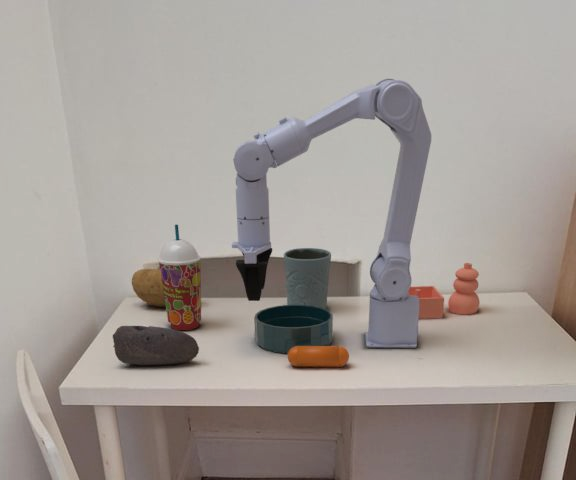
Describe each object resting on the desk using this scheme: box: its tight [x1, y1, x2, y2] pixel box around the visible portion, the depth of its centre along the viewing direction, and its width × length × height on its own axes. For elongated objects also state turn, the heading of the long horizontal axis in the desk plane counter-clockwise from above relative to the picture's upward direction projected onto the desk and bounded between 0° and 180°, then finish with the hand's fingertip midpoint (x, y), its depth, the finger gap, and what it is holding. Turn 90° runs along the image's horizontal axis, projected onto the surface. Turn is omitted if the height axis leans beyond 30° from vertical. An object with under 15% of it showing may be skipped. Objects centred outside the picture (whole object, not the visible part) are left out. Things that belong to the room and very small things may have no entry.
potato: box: [131, 268, 166, 308], centre depth 166 cm, size 10×14×8 cm
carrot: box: [287, 345, 350, 368], centre depth 133 cm, size 11×4×4 cm, turn 87°
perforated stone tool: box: [112, 325, 200, 366], centre depth 134 cm, size 15×5×7 cm, turn 88°
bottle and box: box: [408, 262, 481, 320], centre depth 159 cm, size 18×10×10 cm, turn 94°
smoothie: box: [157, 224, 202, 331], centre depth 150 cm, size 8×8×20 cm
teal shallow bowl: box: [253, 304, 334, 354], centre depth 145 cm, size 15×15×5 cm
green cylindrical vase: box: [283, 247, 332, 310], centre depth 161 cm, size 10×10×12 cm
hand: (256, 294), depth 139 cm, fingers open, 7 cm apart
